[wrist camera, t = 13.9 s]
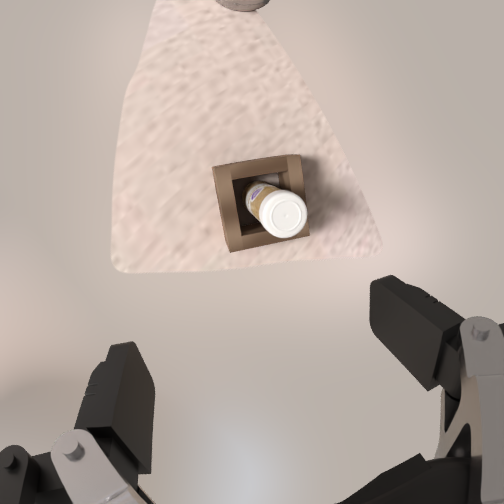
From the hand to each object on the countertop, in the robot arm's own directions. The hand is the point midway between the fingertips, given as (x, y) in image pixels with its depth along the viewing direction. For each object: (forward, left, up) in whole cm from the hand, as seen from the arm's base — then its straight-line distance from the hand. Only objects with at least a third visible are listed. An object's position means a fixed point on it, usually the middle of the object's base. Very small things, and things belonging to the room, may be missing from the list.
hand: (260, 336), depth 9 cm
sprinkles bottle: (+1, +7, -32) cm, 33 cm away
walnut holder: (+1, +7, -32) cm, 33 cm away
